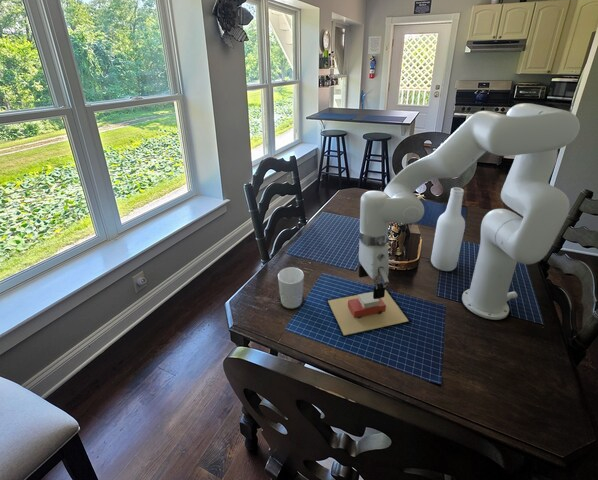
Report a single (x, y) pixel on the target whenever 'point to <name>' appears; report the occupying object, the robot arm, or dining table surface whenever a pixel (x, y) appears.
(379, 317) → the mat
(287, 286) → the white cup
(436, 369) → the dining table surface
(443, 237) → the alcohol
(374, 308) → the toy car
